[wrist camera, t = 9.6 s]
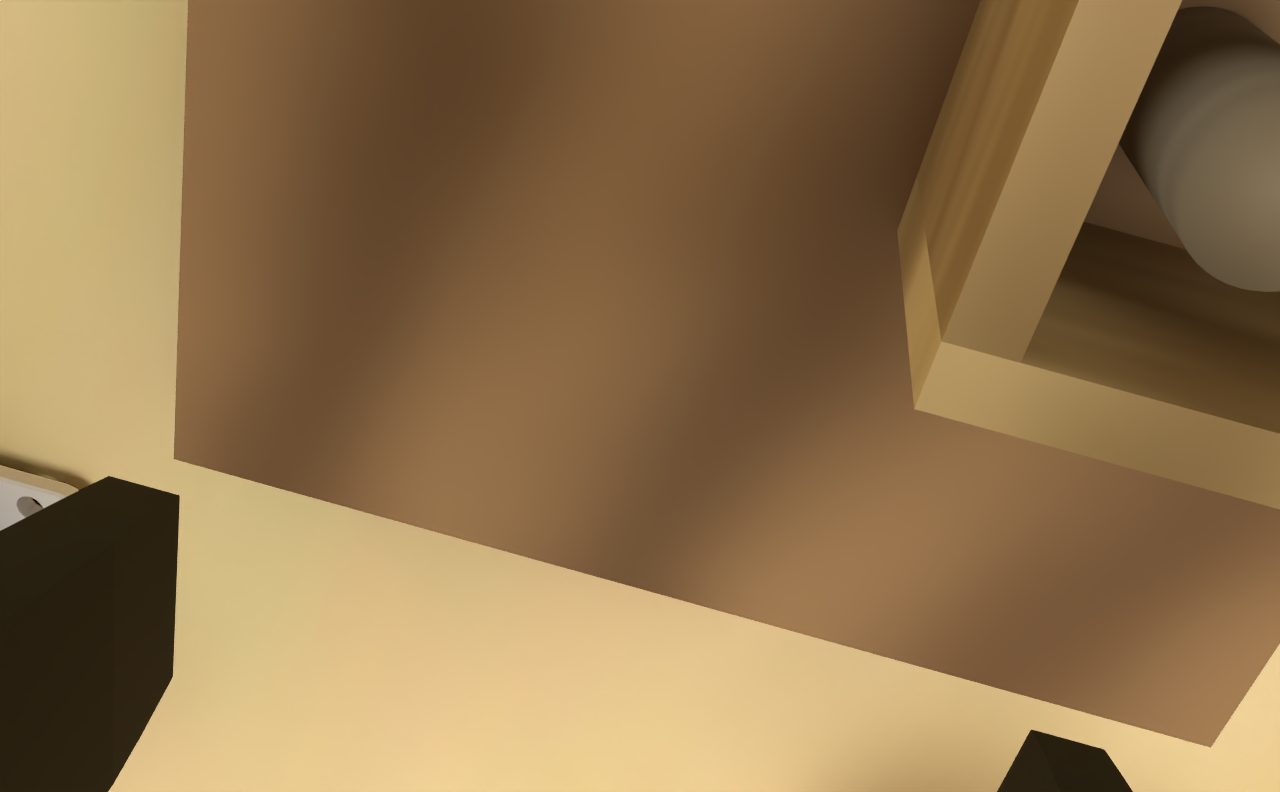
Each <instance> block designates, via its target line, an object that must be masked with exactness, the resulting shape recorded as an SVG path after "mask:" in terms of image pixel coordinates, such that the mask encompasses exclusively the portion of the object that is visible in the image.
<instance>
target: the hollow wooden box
mask: <svg viewBox="0 0 1280 792" xmlns="http://www.w3.org/2000/svg"><path fill="white" fill-rule="evenodd" d="M1181 2H1182V0H981V1H980V3H979V6H978V9H977V12H976V14H975V17H974V20H973V23H972V25H971V28H970V31H969V34H968V36H967V39H966V42H965V45H964V47H963V50H962V53H961V56H960V59H959V61H958V64H957V67H956V70H955V72H954V75H953V78H952V81H951V83H950V86H949V89H948V92H947V94H946V97H945V100H944V103H943V105H942V108H941V111H940V114H939V117H938V119H937V122H936V125H935V128H934V130H933V133H932V136H931V139H930V141H929V144H928V147H927V150H926V152H925V155H924V158H923V161H922V164H921V166H920V169H919V172H918V175H917V177H916V180H915V183H914V186H913V188H912V191H911V194H910V197H909V199H908V202H907V205H906V208H905V210H904V213H903V216H902V219H901V222H900V224H899V227H898V230H897V233H898V244H899V254H900V265H901V275H902V286H903V296H904V307H905V317H906V328H907V338H908V349H909V360H910V370H911V381H912V391H913V402H914V409H916V410H919V411H923V412H927V413H930V414H934V415H938V416H941V417H945V418H949V419H952V420H956V421H960V422H963V423H967V424H970V425H974V426H978V427H981V428H985V429H989V430H992V431H996V432H1000V433H1003V434H1007V435H1011V436H1014V437H1018V438H1021V439H1025V440H1029V441H1032V442H1036V443H1040V444H1043V445H1047V446H1051V447H1054V448H1058V449H1062V450H1065V451H1069V452H1072V453H1076V454H1080V455H1083V456H1087V457H1091V458H1094V459H1098V460H1102V461H1105V462H1109V463H1113V464H1116V465H1120V466H1123V467H1127V468H1131V469H1134V470H1138V471H1142V472H1145V473H1149V474H1153V475H1156V476H1160V477H1164V478H1167V479H1171V480H1174V481H1178V482H1182V483H1185V484H1189V485H1193V486H1196V487H1200V488H1204V489H1207V490H1211V491H1215V492H1218V493H1222V494H1225V495H1229V496H1233V497H1236V498H1240V499H1244V500H1247V501H1251V502H1255V503H1258V504H1262V505H1266V506H1269V507H1273V508H1276V509H1280V291H1274V292H1263V291H1251V290H1246V289H1242V288H1238V287H1235V286H1232V285H1229V284H1226V283H1224V282H1222V281H1220V280H1218V279H1216V278H1214V277H1213V276H1212V275H1210V274H1209V273H1207V272H1206V271H1205V270H1204V269H1202V268H1201V267H1200V266H1199V265H1198V264H1197V263H1196V262H1195V260H1194V259H1193V258H1192V256H1191V255H1190V254H1189V252H1188V251H1187V249H1183V248H1179V247H1176V246H1172V245H1168V244H1165V243H1161V242H1157V241H1154V240H1150V239H1146V238H1142V237H1139V236H1135V235H1131V234H1128V233H1124V232H1120V231H1117V230H1113V229H1109V228H1105V227H1102V226H1098V225H1094V224H1091V223H1087V222H1084V219H1085V217H1086V215H1087V213H1088V210H1089V208H1090V206H1091V204H1092V202H1093V199H1094V197H1095V195H1096V193H1097V190H1098V188H1099V186H1100V184H1101V181H1102V179H1103V177H1104V175H1105V172H1106V170H1107V168H1108V166H1109V163H1110V161H1111V159H1112V157H1113V154H1114V152H1115V150H1116V148H1117V145H1118V143H1119V141H1120V139H1121V136H1122V134H1123V132H1124V130H1125V128H1126V125H1127V123H1128V121H1129V119H1130V116H1131V114H1132V112H1133V110H1134V107H1135V105H1136V103H1137V101H1138V98H1139V96H1140V94H1141V92H1142V89H1143V87H1144V85H1145V83H1146V80H1147V78H1148V76H1149V74H1150V71H1151V69H1152V67H1153V65H1154V62H1155V60H1156V58H1157V56H1158V54H1159V51H1160V49H1161V47H1162V45H1163V42H1164V40H1165V38H1166V36H1167V33H1168V31H1169V29H1170V27H1171V24H1172V22H1173V20H1174V18H1175V15H1176V13H1177V11H1178V9H1179V6H1180V4H1181Z"/></svg>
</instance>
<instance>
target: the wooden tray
mask: <svg viewBox="0 0 1280 792" xmlns="http://www.w3.org/2000/svg"><path fill="white" fill-rule="evenodd" d="M980 1H981V0H188V27H187V59H186V91H185V122H184V154H183V186H182V217H181V249H180V281H179V312H178V344H177V376H176V407H175V439H174V459H176V460H179V461H183V462H187V463H190V464H194V465H197V466H201V467H205V468H208V469H212V470H215V471H219V472H223V473H226V474H230V475H233V476H237V477H241V478H244V479H248V480H251V481H255V482H259V483H262V484H266V485H269V486H273V487H277V488H280V489H284V490H287V491H291V492H294V493H298V494H302V495H305V496H309V497H312V498H316V499H320V500H323V501H327V502H330V503H334V504H338V505H341V506H345V507H348V508H352V509H356V510H359V511H363V512H366V513H370V514H374V515H377V516H381V517H384V518H388V519H392V520H395V521H399V522H402V523H406V524H410V525H413V526H417V527H420V528H424V529H427V530H431V531H435V532H438V533H442V534H445V535H449V536H453V537H456V538H460V539H463V540H467V541H471V542H474V543H478V544H481V545H485V546H489V547H492V548H496V549H499V550H503V551H507V552H510V553H514V554H517V555H521V556H525V557H528V558H532V559H535V560H539V561H543V562H546V563H550V564H553V565H557V566H560V567H564V568H568V569H571V570H575V571H578V572H582V573H586V574H589V575H593V576H596V577H600V578H604V579H607V580H611V581H614V582H618V583H622V584H625V585H629V586H632V587H636V588H640V589H643V590H647V591H650V592H654V593H658V594H661V595H665V596H668V597H672V598H676V599H679V600H683V601H686V602H690V603H694V604H697V605H701V606H704V607H708V608H711V609H715V610H719V611H722V612H726V613H729V614H733V615H737V616H740V617H744V618H747V619H751V620H755V621H758V622H762V623H765V624H769V625H773V626H776V627H780V628H783V629H787V630H791V631H794V632H798V633H801V634H805V635H809V636H812V637H816V638H819V639H823V640H827V641H830V642H834V643H837V644H841V645H844V646H848V647H852V648H855V649H859V650H862V651H866V652H870V653H873V654H877V655H880V656H884V657H888V658H891V659H895V660H898V661H902V662H906V663H909V664H913V665H916V666H920V667H924V668H927V669H931V670H934V671H938V672H942V673H945V674H949V675H952V676H956V677H960V678H963V679H967V680H970V681H974V682H977V683H981V684H985V685H988V686H992V687H995V688H999V689H1003V690H1006V691H1010V692H1013V693H1017V694H1021V695H1024V696H1028V697H1031V698H1035V699H1039V700H1042V701H1046V702H1049V703H1053V704H1057V705H1060V706H1064V707H1067V708H1071V709H1075V710H1078V711H1082V712H1085V713H1089V714H1093V715H1096V716H1100V717H1103V718H1107V719H1111V720H1114V721H1118V722H1121V723H1125V724H1128V725H1132V726H1136V727H1139V728H1143V729H1146V730H1150V731H1154V732H1157V733H1161V734H1164V735H1168V736H1172V737H1175V738H1179V739H1182V740H1186V741H1190V742H1193V743H1197V744H1200V745H1204V746H1208V747H1211V746H1212V745H1213V743H1214V742H1215V740H1216V739H1217V737H1218V736H1219V734H1220V733H1221V731H1222V730H1223V728H1224V727H1225V725H1226V724H1227V722H1228V721H1229V719H1230V718H1231V716H1232V714H1233V713H1234V711H1235V710H1236V708H1237V707H1238V705H1239V704H1240V702H1241V701H1242V699H1243V698H1244V696H1245V695H1246V693H1247V692H1248V690H1249V689H1250V687H1251V686H1252V684H1253V683H1254V681H1255V680H1256V678H1257V677H1258V675H1259V674H1260V672H1261V671H1262V669H1263V668H1264V666H1265V665H1266V663H1267V662H1268V660H1269V659H1270V657H1271V656H1272V654H1273V653H1274V651H1275V650H1276V648H1277V647H1278V645H1279V644H1280V509H1276V508H1273V507H1269V506H1266V505H1262V504H1258V503H1255V502H1251V501H1247V500H1244V499H1240V498H1236V497H1233V496H1229V495H1225V494H1222V493H1218V492H1215V491H1211V490H1207V489H1204V488H1200V487H1196V486H1193V485H1189V484H1185V483H1182V482H1178V481H1174V480H1171V479H1167V478H1164V477H1160V476H1156V475H1153V474H1149V473H1145V472H1142V471H1138V470H1134V469H1131V468H1127V467H1123V466H1120V465H1116V464H1113V463H1109V462H1105V461H1102V460H1098V459H1094V458H1091V457H1087V456H1083V455H1080V454H1076V453H1072V452H1069V451H1065V450H1062V449H1058V448H1054V447H1051V446H1047V445H1043V444H1040V443H1036V442H1032V441H1029V440H1025V439H1021V438H1018V437H1014V436H1011V435H1007V434H1003V433H1000V432H996V431H992V430H989V429H985V428H981V427H978V426H974V425H970V424H967V423H963V422H960V421H956V420H952V419H949V418H945V417H941V416H938V415H934V414H930V413H927V412H923V411H919V410H916V409H914V402H913V391H912V381H911V370H910V360H909V349H908V338H907V328H906V317H905V307H904V296H903V286H902V275H901V265H900V254H899V244H898V233H897V230H898V227H899V224H900V222H901V219H902V216H903V213H904V210H905V208H906V205H907V202H908V199H909V197H910V194H911V191H912V188H913V186H914V183H915V180H916V177H917V175H918V172H919V169H920V166H921V164H922V161H923V158H924V155H925V152H926V150H927V147H928V144H929V141H930V139H931V136H932V133H933V130H934V128H935V125H936V122H937V119H938V117H939V114H940V111H941V108H942V105H943V103H944V100H945V97H946V94H947V92H948V89H949V86H950V83H951V81H952V78H953V75H954V72H955V70H956V67H957V64H958V61H959V59H960V56H961V53H962V50H963V47H964V45H965V42H966V39H967V36H968V34H969V31H970V28H971V25H972V23H973V20H974V17H975V14H976V12H977V9H978V6H979V3H980ZM1084 222H1087V223H1091V224H1094V225H1098V226H1102V227H1105V228H1109V229H1113V230H1117V231H1120V232H1124V233H1128V234H1131V235H1135V236H1139V237H1142V238H1146V239H1150V240H1154V241H1157V242H1161V243H1165V244H1168V245H1172V246H1176V247H1179V248H1183V249H1187V251H1188V252H1189V254H1190V255H1191V256H1192V258H1193V259H1194V260H1195V262H1196V263H1197V264H1198V265H1199V266H1200V267H1201V268H1202V269H1204V270H1205V271H1206V272H1207V273H1209V274H1210V275H1212V276H1213V277H1214V278H1216V279H1218V280H1220V281H1222V282H1224V283H1226V284H1229V285H1232V286H1235V287H1238V288H1242V289H1246V290H1251V291H1263V292H1274V291H1280V0H1182V2H1181V4H1180V6H1179V9H1178V11H1177V13H1176V15H1175V18H1174V20H1173V22H1172V24H1171V27H1170V29H1169V31H1168V33H1167V36H1166V38H1165V40H1164V42H1163V45H1162V47H1161V49H1160V51H1159V54H1158V56H1157V58H1156V60H1155V62H1154V65H1153V67H1152V69H1151V71H1150V74H1149V76H1148V78H1147V80H1146V83H1145V85H1144V87H1143V89H1142V92H1141V94H1140V96H1139V98H1138V101H1137V103H1136V105H1135V107H1134V110H1133V112H1132V114H1131V116H1130V119H1129V121H1128V123H1127V125H1126V128H1125V130H1124V132H1123V134H1122V136H1121V139H1120V141H1119V143H1118V145H1117V148H1116V150H1115V152H1114V154H1113V157H1112V159H1111V161H1110V163H1109V166H1108V168H1107V170H1106V172H1105V175H1104V177H1103V179H1102V181H1101V184H1100V186H1099V188H1098V190H1097V193H1096V195H1095V197H1094V199H1093V202H1092V204H1091V206H1090V208H1089V210H1088V213H1087V215H1086V217H1085V219H1084Z"/></svg>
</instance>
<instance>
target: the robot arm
mask: <svg viewBox="0 0 1280 792" xmlns="http://www.w3.org/2000/svg"><path fill="white" fill-rule="evenodd" d="M31 498H33V499H35V500H37V501H38V502H39V503H40V504H41V505H42V507H41V506H39V505H37V504H36V503H35V502H34V501H33V500H32V499H31ZM179 499H180V496H179V495H176V494H172V493H168V492H165V491H161V490H158V489H154V488H150V487H147V486H143V485H139V484H136V483H132V482H128V481H125V480H121V479H118V478H114V477H110V476H108V477H106V478H104V479H102V480H100V481H98V482H95V483H93V484H91V485H89V486H87V487H85V488H83V489H81V490H78V489H77V488H75V487H73V486H71V485H68V484H66V483H62V482H59V481H55V480H52V479H48V478H45V477H41V476H37V475H34V474H30V473H27V472H23V471H19V470H16V469H12V468H9V467H5V466H2V465H0V792H108V791H109V789H110V788H111V786H112V785H113V784H114V782H115V780H116V778H117V777H118V775H119V773H120V771H121V770H122V768H123V766H124V764H125V763H126V761H127V759H128V757H129V756H130V754H131V752H132V750H133V749H134V747H135V745H136V743H137V742H138V740H139V738H140V736H141V735H142V733H143V731H144V729H145V727H146V725H147V723H148V722H149V720H150V718H151V716H152V714H153V712H154V711H155V709H156V707H157V705H158V703H159V701H160V699H161V698H162V696H163V694H164V692H165V690H166V688H167V686H168V685H169V683H170V681H171V679H172V677H173V657H174V630H175V604H176V578H177V551H178V525H179ZM997 792H1133V791H1132V790H1131V788H1130V787H1129V785H1128V784H1127V782H1126V781H1125V779H1124V778H1123V776H1122V775H1121V773H1120V772H1119V770H1118V769H1117V767H1116V766H1115V764H1114V763H1113V761H1112V760H1111V759H1110V757H1109V756H1108V754H1107V753H1106V751H1105V750H1104V749H1100V748H1097V747H1093V746H1089V745H1086V744H1082V743H1078V742H1075V741H1071V740H1067V739H1064V738H1060V737H1057V736H1053V735H1049V734H1046V733H1042V732H1038V731H1035V730H1031V731H1030V733H1029V734H1028V736H1027V738H1026V740H1025V742H1024V744H1023V745H1022V747H1021V749H1020V751H1019V753H1018V755H1017V756H1016V758H1015V760H1014V762H1013V764H1012V766H1011V767H1010V769H1009V771H1008V773H1007V775H1006V777H1005V778H1004V780H1003V782H1002V784H1001V786H1000V788H999V789H998V791H997Z"/></svg>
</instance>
